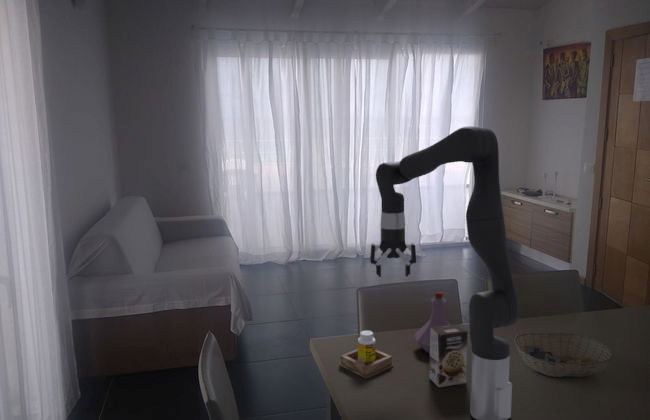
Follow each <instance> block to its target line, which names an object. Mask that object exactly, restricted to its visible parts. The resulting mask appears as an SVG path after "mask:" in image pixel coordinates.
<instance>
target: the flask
mask: <svg viewBox="0 0 650 420" xmlns="http://www.w3.org/2000/svg"><path fill="white" fill-rule="evenodd" d="M443 294H444V293H443V291H435V292H434V296H435V297H433V298H431V304H432V311H431V314H430V318H429V320H428V321H426V323H425V324H424V325H423V326H422V327H421V328H419V329H418V330H417V331H416V332H415V333H414V334H413V335H414V337H415V340H416V343H418V345H419V346H420V347H421V348H422V349H423V350H424V351H425V353H427V354H430V330H431V327H439V326H447V325H451V324H450V322H448V319H447V314H446V310H445V306H446V304H447V299H445V298H444V297H443Z"/></svg>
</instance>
